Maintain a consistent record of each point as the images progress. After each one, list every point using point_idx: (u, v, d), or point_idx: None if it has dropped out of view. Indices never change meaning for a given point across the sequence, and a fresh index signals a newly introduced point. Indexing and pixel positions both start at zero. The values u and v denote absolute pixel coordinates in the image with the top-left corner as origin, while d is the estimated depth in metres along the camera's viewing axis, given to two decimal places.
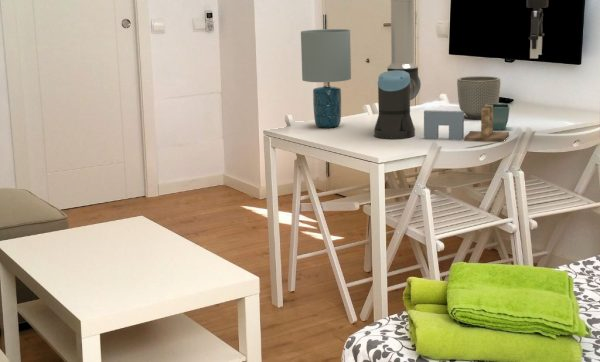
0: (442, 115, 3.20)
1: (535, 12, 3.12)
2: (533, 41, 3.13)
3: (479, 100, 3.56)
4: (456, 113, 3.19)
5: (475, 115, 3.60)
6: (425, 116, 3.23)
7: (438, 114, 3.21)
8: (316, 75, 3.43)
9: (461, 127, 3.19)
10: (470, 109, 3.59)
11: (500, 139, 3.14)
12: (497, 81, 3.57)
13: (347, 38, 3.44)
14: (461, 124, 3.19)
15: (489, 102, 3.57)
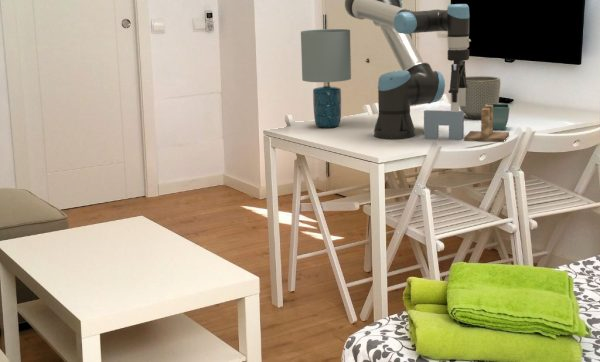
0: (442, 115, 3.20)
1: (455, 65, 3.09)
2: (453, 94, 3.10)
3: (479, 100, 3.56)
4: (456, 113, 3.19)
5: (475, 115, 3.60)
6: (425, 116, 3.23)
7: (438, 114, 3.21)
8: (316, 75, 3.43)
9: (461, 127, 3.19)
10: (470, 109, 3.59)
11: (500, 139, 3.14)
12: (497, 81, 3.57)
13: (347, 38, 3.44)
14: (461, 124, 3.19)
15: (489, 102, 3.57)
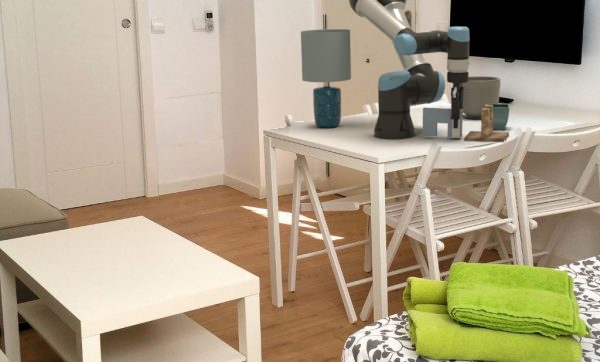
0: (441, 112, 3.21)
1: (454, 94, 3.12)
2: (454, 121, 3.18)
3: (479, 100, 3.56)
4: None
5: (475, 115, 3.60)
6: (424, 113, 3.23)
7: (437, 112, 3.21)
8: (316, 75, 3.43)
9: (460, 125, 3.19)
10: (470, 109, 3.59)
11: (500, 139, 3.14)
12: (497, 81, 3.57)
13: (347, 38, 3.44)
14: (460, 122, 3.19)
15: (489, 102, 3.57)
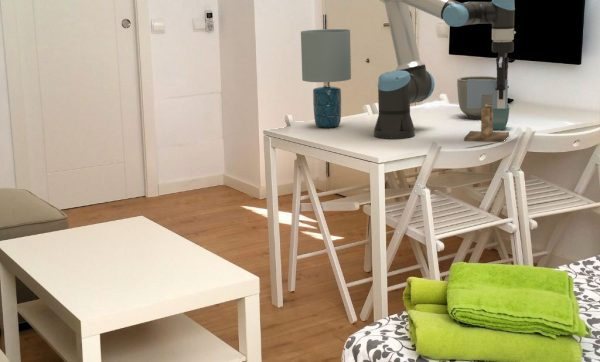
0: (486, 83, 3.16)
1: (500, 64, 3.08)
2: (500, 91, 3.13)
3: None
4: None
5: (475, 115, 3.60)
6: (468, 85, 3.18)
7: (482, 83, 3.17)
8: (316, 75, 3.43)
9: (505, 96, 3.15)
10: (470, 109, 3.59)
11: (500, 139, 3.14)
12: None
13: (347, 38, 3.44)
14: (505, 93, 3.15)
15: (489, 102, 3.57)
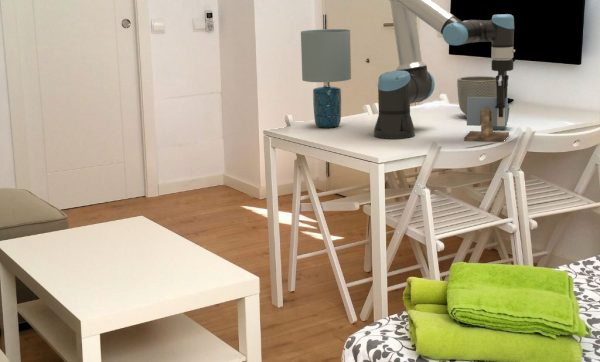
0: (486, 101, 3.18)
1: (499, 82, 3.09)
2: (500, 109, 3.15)
3: None
4: None
5: None
6: (468, 103, 3.20)
7: (481, 101, 3.18)
8: (316, 75, 3.43)
9: (505, 114, 3.16)
10: None
11: (500, 139, 3.14)
12: None
13: (347, 38, 3.44)
14: (505, 111, 3.16)
15: None
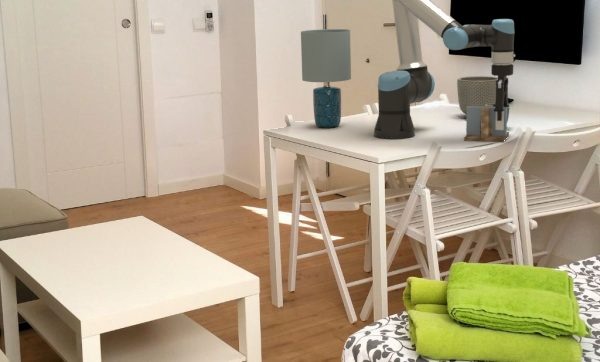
0: None
1: (499, 84, 3.09)
2: (498, 113, 3.12)
3: (479, 100, 3.56)
4: None
5: None
6: (468, 112, 3.21)
7: None
8: (316, 75, 3.43)
9: (504, 123, 3.17)
10: None
11: (500, 139, 3.14)
12: None
13: (347, 38, 3.44)
14: (504, 120, 3.17)
15: (489, 102, 3.57)
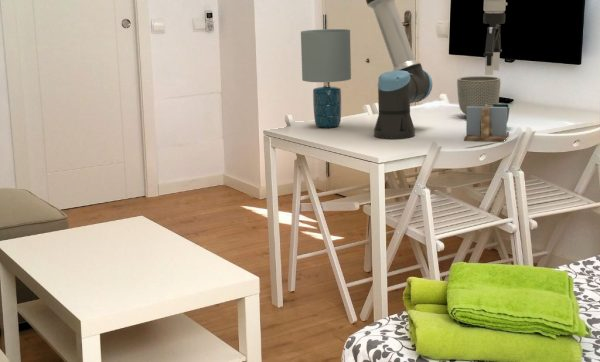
0: None
1: (490, 28, 3.09)
2: (488, 58, 3.10)
3: (479, 100, 3.56)
4: (499, 109, 3.17)
5: None
6: (468, 112, 3.21)
7: None
8: (316, 75, 3.43)
9: (504, 123, 3.17)
10: None
11: (500, 139, 3.14)
12: (497, 81, 3.57)
13: (347, 38, 3.44)
14: (504, 120, 3.17)
15: (489, 102, 3.57)
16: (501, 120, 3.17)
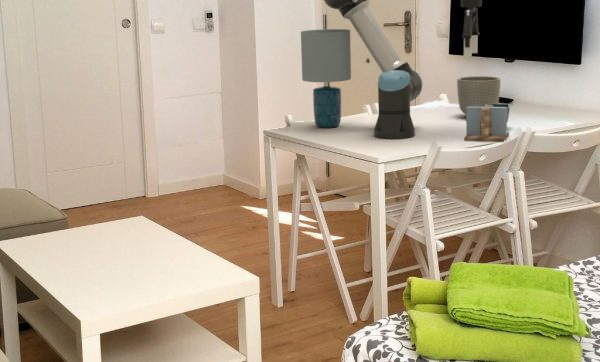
0: None
1: (468, 11, 3.18)
2: (466, 40, 3.19)
3: (479, 100, 3.56)
4: (499, 109, 3.17)
5: None
6: (468, 112, 3.21)
7: None
8: (316, 75, 3.43)
9: (504, 123, 3.17)
10: None
11: (500, 139, 3.14)
12: (497, 81, 3.57)
13: (347, 38, 3.44)
14: (504, 120, 3.17)
15: (489, 102, 3.57)
16: (501, 120, 3.17)
